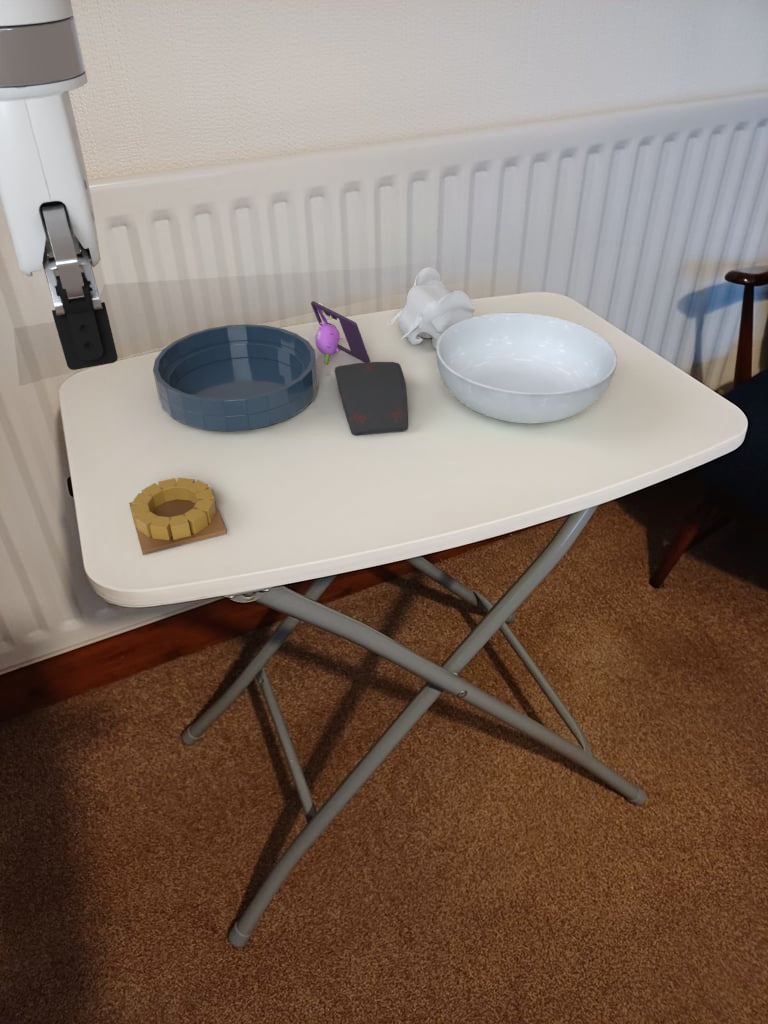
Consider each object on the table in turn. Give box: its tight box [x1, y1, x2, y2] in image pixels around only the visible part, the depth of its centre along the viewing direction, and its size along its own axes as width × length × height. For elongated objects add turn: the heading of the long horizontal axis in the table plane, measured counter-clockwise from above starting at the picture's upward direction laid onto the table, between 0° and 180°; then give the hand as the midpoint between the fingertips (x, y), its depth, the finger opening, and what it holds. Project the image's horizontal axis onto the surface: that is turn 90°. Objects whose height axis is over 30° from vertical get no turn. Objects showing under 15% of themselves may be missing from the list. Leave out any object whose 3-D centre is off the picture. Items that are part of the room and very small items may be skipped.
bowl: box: [152, 323, 319, 432], centre depth 96 cm, size 19×19×4 cm
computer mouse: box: [334, 361, 409, 436], centre depth 93 cm, size 8×14×4 cm, turn 9°
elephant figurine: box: [387, 266, 476, 349], centre depth 105 cm, size 10×12×9 cm
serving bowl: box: [435, 311, 619, 424], centre depth 93 cm, size 21×21×7 cm
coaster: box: [128, 499, 227, 556], centre depth 77 cm, size 8×8×1 cm
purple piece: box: [310, 300, 371, 365], centre depth 102 cm, size 7×5×9 cm
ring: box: [130, 477, 217, 540], centre depth 77 cm, size 8×8×2 cm
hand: (85, 333), depth 55 cm, fingers open, 9 cm apart
